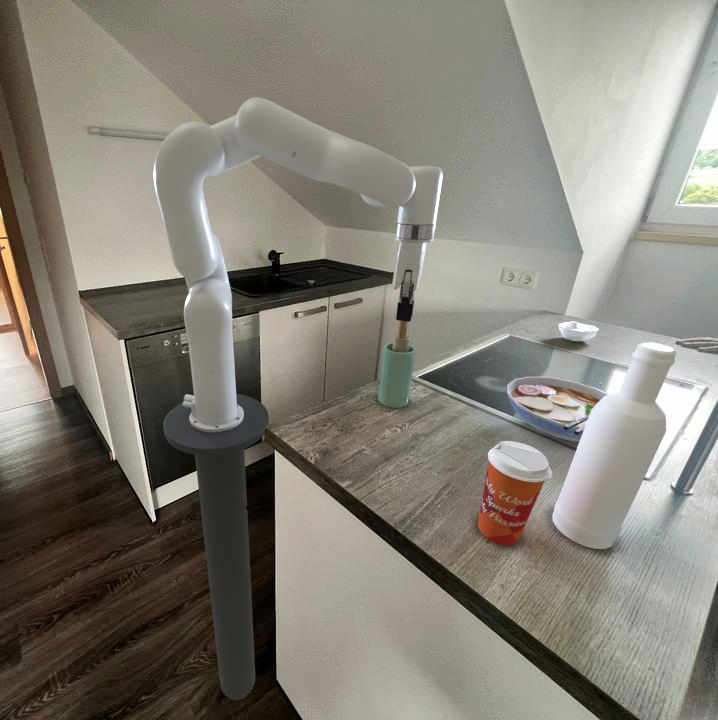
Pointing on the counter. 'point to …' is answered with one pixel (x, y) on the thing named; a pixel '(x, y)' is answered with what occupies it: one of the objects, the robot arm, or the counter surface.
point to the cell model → (577, 331)
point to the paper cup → (511, 490)
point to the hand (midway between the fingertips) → (404, 318)
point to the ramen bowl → (554, 404)
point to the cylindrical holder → (396, 376)
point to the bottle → (615, 452)
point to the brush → (401, 338)
